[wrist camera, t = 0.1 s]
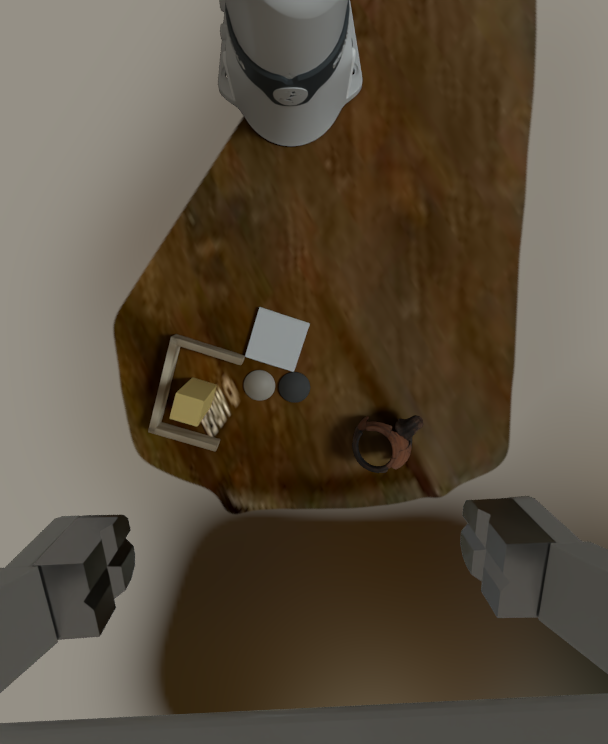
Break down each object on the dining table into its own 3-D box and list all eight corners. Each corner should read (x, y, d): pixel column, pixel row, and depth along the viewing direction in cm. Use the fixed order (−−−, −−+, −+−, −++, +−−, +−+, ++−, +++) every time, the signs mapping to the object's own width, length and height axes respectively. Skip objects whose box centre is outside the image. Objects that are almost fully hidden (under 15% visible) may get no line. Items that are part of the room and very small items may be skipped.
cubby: (176, 334, 55) (171, 336, 53) (245, 355, 56) (242, 359, 54) (154, 425, 59) (148, 432, 57) (218, 444, 60) (215, 451, 58)
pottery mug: (389, 471, 63) (374, 490, 55) (353, 429, 65) (334, 442, 58) (442, 429, 57) (433, 444, 50) (401, 386, 60) (387, 394, 53)
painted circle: (242, 370, 57) (242, 371, 57) (274, 369, 57) (274, 369, 57) (245, 400, 58) (244, 400, 58) (275, 399, 58) (275, 399, 58)
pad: (259, 306, 55) (259, 307, 54) (309, 323, 55) (309, 323, 55) (245, 355, 56) (244, 356, 56) (293, 370, 57) (293, 371, 57)
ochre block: (192, 377, 57) (176, 392, 49) (216, 384, 58) (204, 401, 50) (186, 400, 58) (169, 418, 50) (210, 407, 58) (197, 426, 51)
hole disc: (278, 372, 57) (278, 373, 57) (309, 371, 57) (309, 372, 57) (279, 402, 58) (279, 402, 58) (310, 401, 58) (310, 401, 58)
